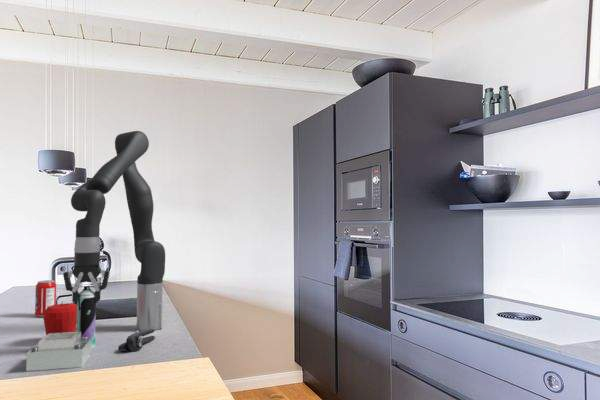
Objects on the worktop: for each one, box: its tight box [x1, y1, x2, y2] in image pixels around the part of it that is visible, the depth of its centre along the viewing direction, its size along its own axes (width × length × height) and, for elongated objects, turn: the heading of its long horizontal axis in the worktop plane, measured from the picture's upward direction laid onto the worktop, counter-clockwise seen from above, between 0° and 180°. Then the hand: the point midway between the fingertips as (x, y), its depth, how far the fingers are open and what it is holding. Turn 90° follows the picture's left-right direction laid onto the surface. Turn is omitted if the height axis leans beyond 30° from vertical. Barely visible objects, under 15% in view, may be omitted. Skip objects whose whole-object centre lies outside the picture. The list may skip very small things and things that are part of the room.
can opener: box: [118, 329, 156, 352], centre depth 147 cm, size 18×7×6 cm, turn 170°
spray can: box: [76, 285, 97, 350], centre depth 145 cm, size 6×6×20 cm
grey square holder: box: [25, 331, 92, 372], centre depth 130 cm, size 14×12×8 cm
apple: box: [42, 301, 77, 336], centre depth 153 cm, size 11×10×14 cm
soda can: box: [34, 279, 57, 318], centre depth 192 cm, size 8×8×15 cm
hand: (86, 302), depth 145 cm, fingers closed on spray can, 5 cm apart
